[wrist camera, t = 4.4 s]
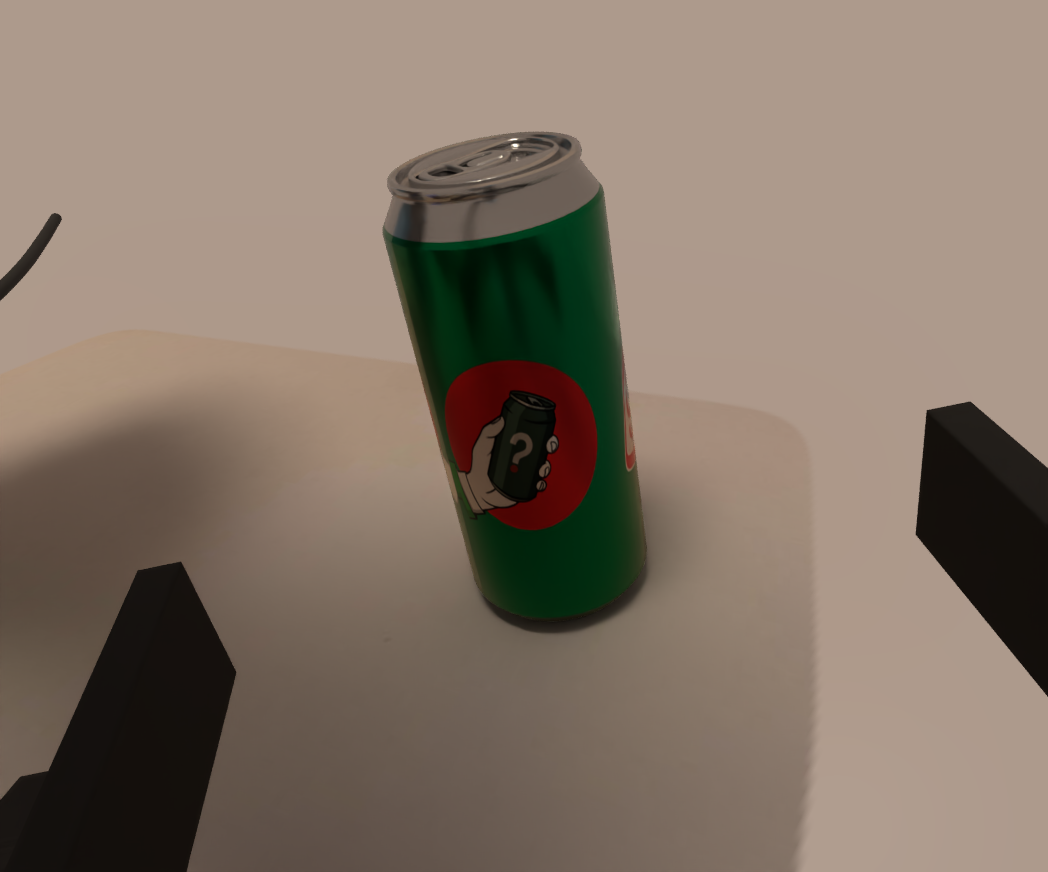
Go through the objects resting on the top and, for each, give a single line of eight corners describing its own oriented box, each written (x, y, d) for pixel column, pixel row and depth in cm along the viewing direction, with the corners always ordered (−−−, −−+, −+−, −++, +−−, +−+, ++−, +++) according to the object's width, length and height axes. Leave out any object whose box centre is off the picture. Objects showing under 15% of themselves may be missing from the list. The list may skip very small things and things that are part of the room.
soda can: (685, 575, 24) (645, 139, 18) (534, 664, 22) (429, 213, 16) (583, 496, 28) (521, 117, 21) (448, 566, 26) (336, 174, 20)
